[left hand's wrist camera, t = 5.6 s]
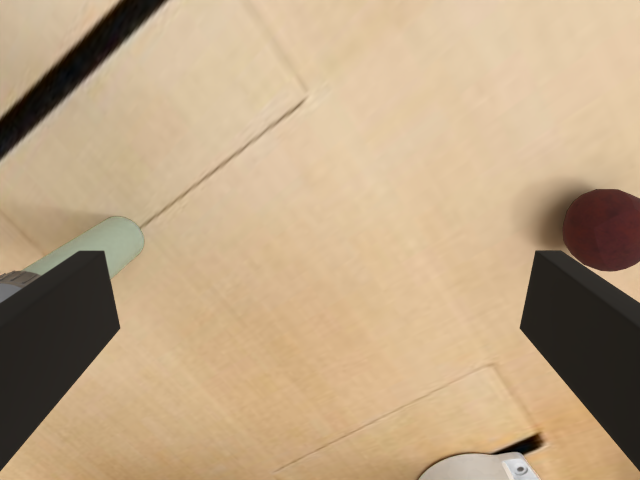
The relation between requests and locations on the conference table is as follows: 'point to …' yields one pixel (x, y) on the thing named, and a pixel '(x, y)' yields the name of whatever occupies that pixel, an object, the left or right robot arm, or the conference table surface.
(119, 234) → the jar
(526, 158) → the conference table surface
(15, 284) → the lid
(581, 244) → the dark red ball
